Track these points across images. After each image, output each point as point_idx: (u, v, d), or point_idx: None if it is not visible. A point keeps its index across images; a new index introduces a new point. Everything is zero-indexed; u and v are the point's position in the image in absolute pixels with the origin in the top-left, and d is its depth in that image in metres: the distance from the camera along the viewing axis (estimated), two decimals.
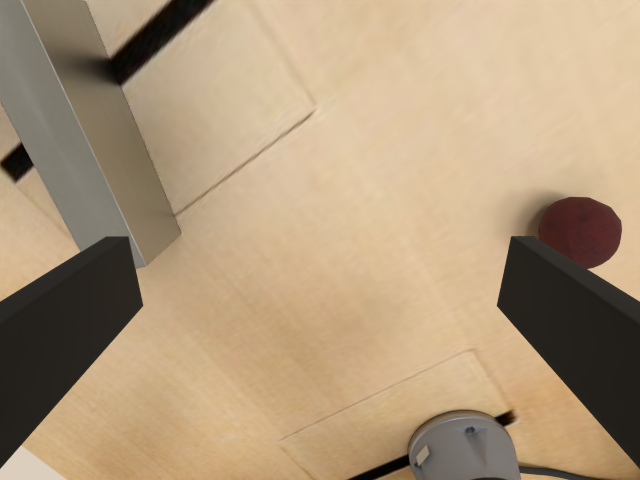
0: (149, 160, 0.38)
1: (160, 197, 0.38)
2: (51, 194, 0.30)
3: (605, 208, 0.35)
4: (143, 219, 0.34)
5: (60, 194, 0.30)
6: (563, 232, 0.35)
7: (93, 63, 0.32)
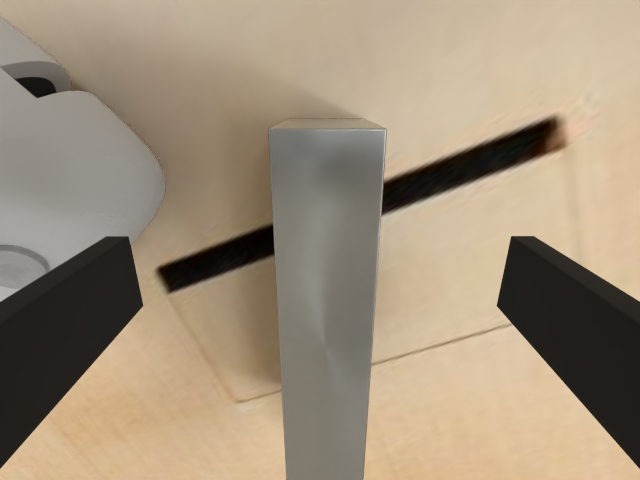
0: None
1: None
2: (284, 394, 0.21)
3: None
4: None
5: (297, 396, 0.22)
6: None
7: None
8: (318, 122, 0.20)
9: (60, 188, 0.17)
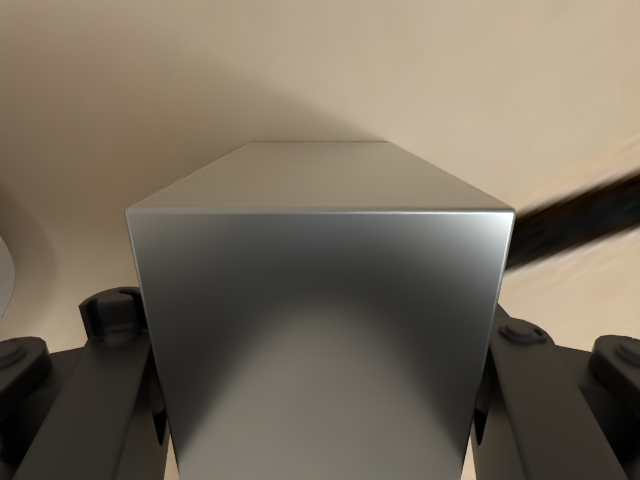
0: None
1: None
2: None
3: None
4: None
5: None
6: None
7: None
8: (301, 159, 0.09)
9: None
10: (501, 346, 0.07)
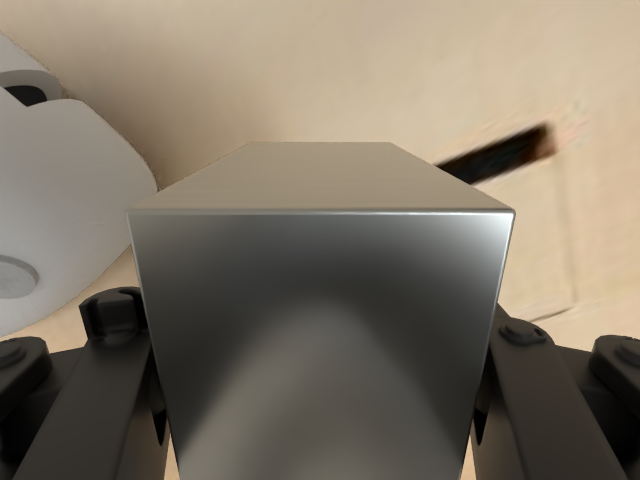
0: None
1: None
2: None
3: None
4: None
5: None
6: None
7: None
8: (301, 159, 0.09)
9: (49, 197, 0.17)
10: (501, 346, 0.07)
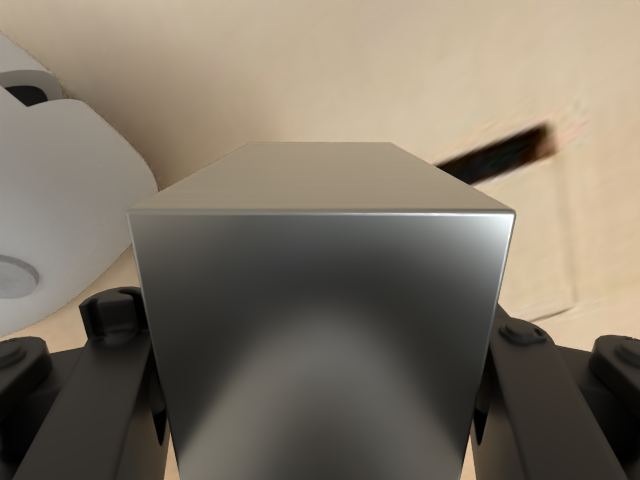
0: None
1: None
2: None
3: None
4: None
5: None
6: None
7: None
8: (302, 159, 0.09)
9: (50, 197, 0.17)
10: (501, 346, 0.07)
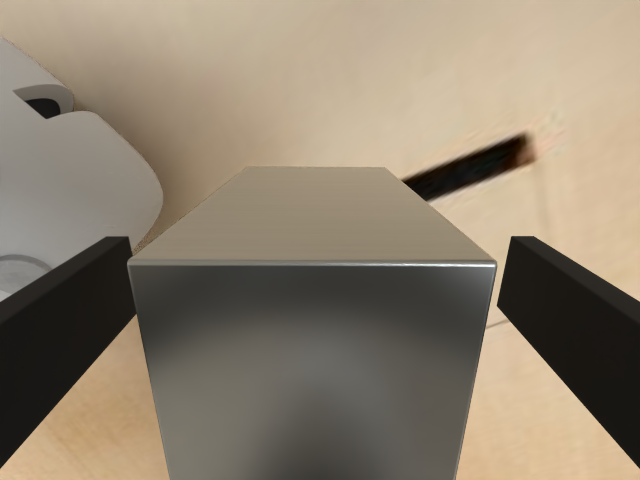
0: None
1: None
2: None
3: None
4: None
5: None
6: None
7: None
8: (297, 191, 0.09)
9: (67, 202, 0.18)
10: None
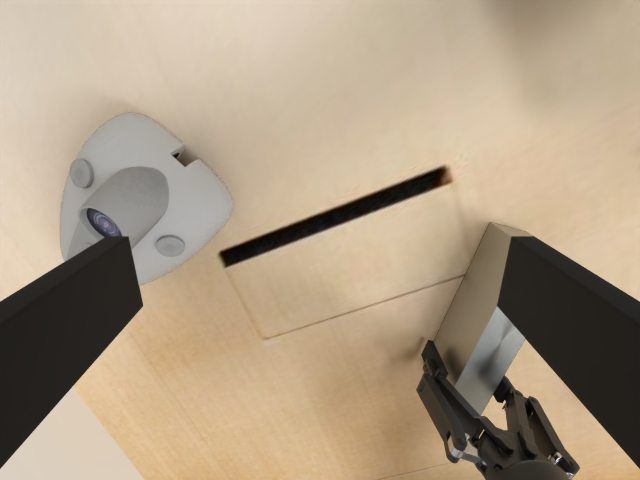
0: None
1: None
2: (469, 360, 0.43)
3: None
4: None
5: (474, 363, 0.43)
6: None
7: None
8: None
9: (196, 208, 0.36)
10: None
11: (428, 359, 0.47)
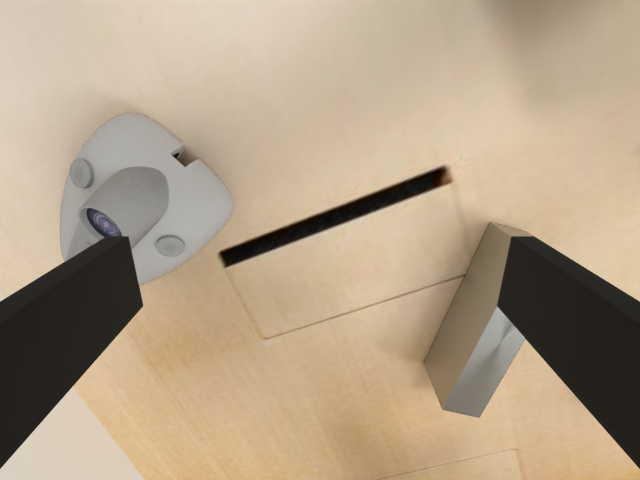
0: None
1: None
2: (469, 360, 0.43)
3: None
4: None
5: (474, 363, 0.43)
6: None
7: None
8: None
9: (196, 208, 0.36)
10: None
11: None
